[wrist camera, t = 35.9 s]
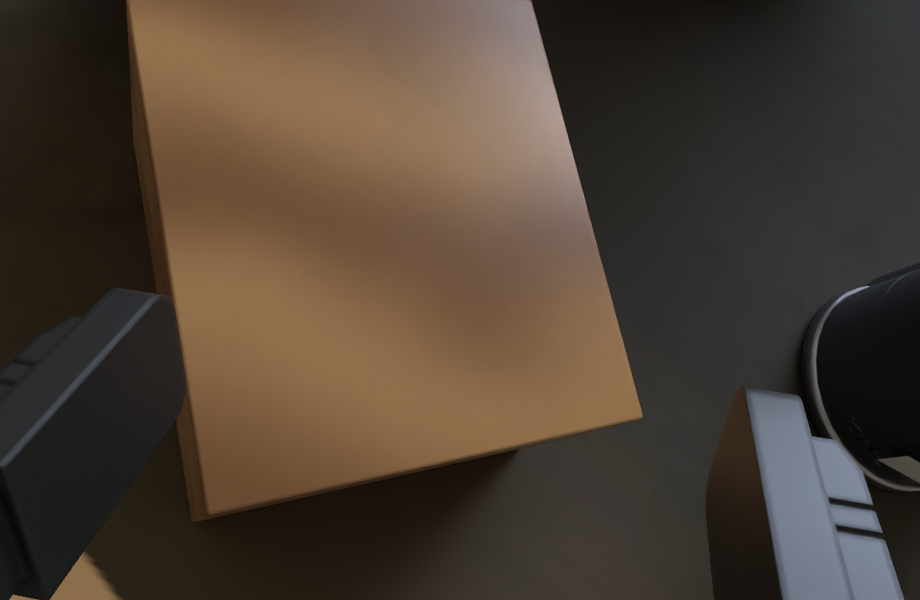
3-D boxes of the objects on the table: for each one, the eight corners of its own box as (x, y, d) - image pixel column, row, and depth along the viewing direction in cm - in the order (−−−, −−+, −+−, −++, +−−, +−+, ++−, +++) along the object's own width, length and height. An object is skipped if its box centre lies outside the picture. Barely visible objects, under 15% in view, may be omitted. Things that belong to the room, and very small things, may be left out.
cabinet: (133, 138, 29) (125, -7, 21) (445, 122, 34) (532, -2, 26) (191, 522, 26) (207, 516, 19) (521, 448, 31) (644, 418, 23)
